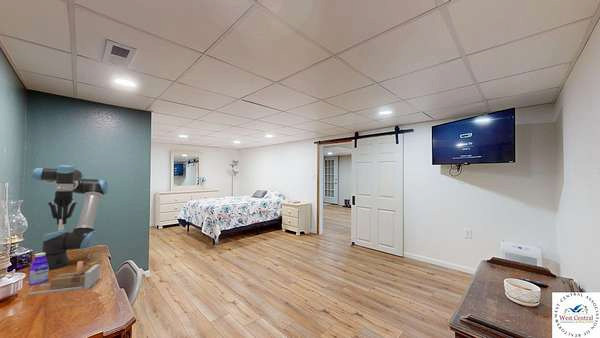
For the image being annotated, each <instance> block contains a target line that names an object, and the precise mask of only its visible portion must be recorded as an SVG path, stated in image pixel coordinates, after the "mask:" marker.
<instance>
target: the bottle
mask: <svg viewBox="0 0 600 338" xmlns="http://www.w3.org/2000/svg"><path fill="white" fill-rule="evenodd" d="M45 255H46V253H42V252H39V253H35V254H34V259H33V260H32V262H31V264H32V265H31V266H30V267H29V274H28V275H29V276H28V285H29V286H36V285H41V284H42V283H43V284H44V283H45V282H48V280H49V270H50V269H49V265H48V263H47V259H46V257H45Z"/></svg>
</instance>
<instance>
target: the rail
mask: <svg viewBox="0 0 600 338" xmlns="http://www.w3.org/2000/svg"><path fill="white" fill-rule="evenodd" d="M100 267H101V266H100V263H99V264H94V265H93V266H91V268H89V269H88V270H87V272H86V271H85V272H86V273H85V284H84V286H81V287H72V288H64V289H56V290H50V289H49V290H39V291H31V292H27V293H26V295H27V296H33V295H42V294H49V293H58V292H64V291H66V292H67V291H75V290H81V289H83V290H89V289H90V288H91V287H92V286H93V285H95V284H96V282H97V281H99V280H100V278H99V277H100ZM38 286H39V287H38V288H43V287H45V288H46V287H51V283H45V284H44V283H43V284H38Z"/></svg>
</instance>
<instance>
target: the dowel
mask: <svg viewBox="0 0 600 338" xmlns="http://www.w3.org/2000/svg"><path fill="white" fill-rule="evenodd" d="M83 269H84V261H83V260H80V261H77V264H76V272H77V273H76V272H75V273H76V276H80V275H82V272H84V271H83Z"/></svg>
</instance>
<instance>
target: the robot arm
mask: <svg viewBox="0 0 600 338" xmlns="http://www.w3.org/2000/svg"><path fill="white" fill-rule="evenodd" d="M31 177H32V179H33V180H35V181H45V182H48V183H51V184H53V185H55V191H54V192H55V194H54V199H53V201H51V202H48V203H47V204H48V206H49V207H50V211H51V216H52V218H53V219H56V226H57V225H58V229H57V231H52V232H48V233H45V234H44V236H43V238H42V248H41V253H46V255H45V257H46V259H47V263H48V265H49V270H55V269H58V268H63V267H66V266H68V265H70V259H69V256H68V254H67V251H68V250H83V249H89V248H91V247H93V245H94V243H95V242H96V240H97V235H98V234H97V231H96V230H95V227H94V224H95V220H96V216H97V211H98V209H99V205H100V201H101V198H103V197H104V195H106V194H108V191H109V186H108V181H107V180H105V179H100V178H98V179H97V178H95V179H94V178H93V179H92V178H83V177H84V173H83V171H82V170H81V169H77V168H76V169H75V166H74V165H66V164H64V165H63V164H62V165H58V166H57V168H50V167H49V168H48V167H46V168H44V167H37V168H34V169H33V170H32V173H31ZM73 193H75V194H82V195H83V196H84V198H85V199H84V202H83V206H82V209H81V212H80V216H79V218H78V222H77V225H76V227H74V228H72V232H71V231H70V232H69V230H68V229H67V230H66V229H65V225H66V224H67V219H69V218H72V216H73V213H74V210H75V208H76V206H77V204H78V201H74V199H73ZM56 205H57V207H56ZM69 206H70V207H69Z"/></svg>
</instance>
